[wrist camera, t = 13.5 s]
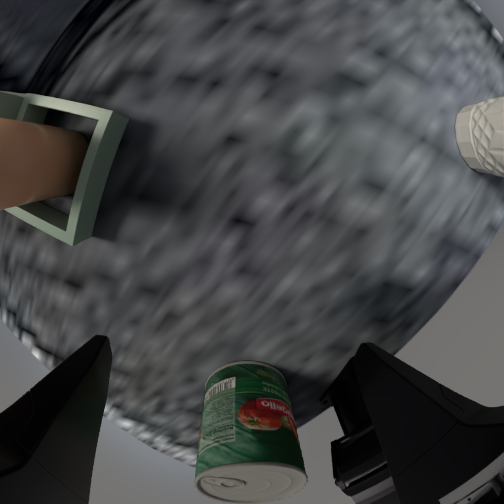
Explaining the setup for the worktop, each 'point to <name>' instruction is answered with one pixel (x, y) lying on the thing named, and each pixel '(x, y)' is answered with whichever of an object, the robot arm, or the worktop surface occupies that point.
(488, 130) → the white cup
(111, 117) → the dish rack
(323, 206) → the worktop surface
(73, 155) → the orange rounded blob
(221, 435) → the canned tomato
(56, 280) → the worktop surface
